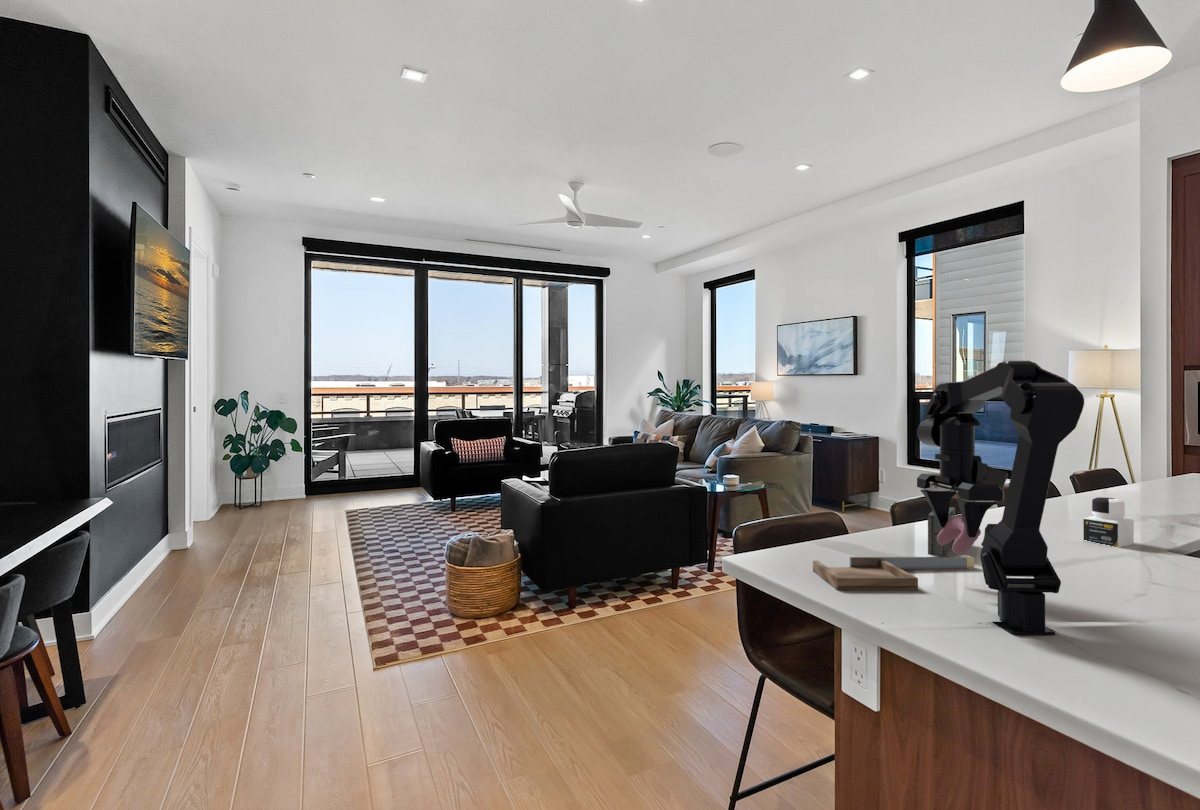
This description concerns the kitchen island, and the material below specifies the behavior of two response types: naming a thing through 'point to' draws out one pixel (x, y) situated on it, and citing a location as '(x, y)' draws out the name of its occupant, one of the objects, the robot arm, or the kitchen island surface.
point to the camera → (934, 531)
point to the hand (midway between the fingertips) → (957, 532)
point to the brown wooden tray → (867, 577)
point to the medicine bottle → (1109, 523)
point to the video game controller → (956, 535)
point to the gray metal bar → (916, 562)
